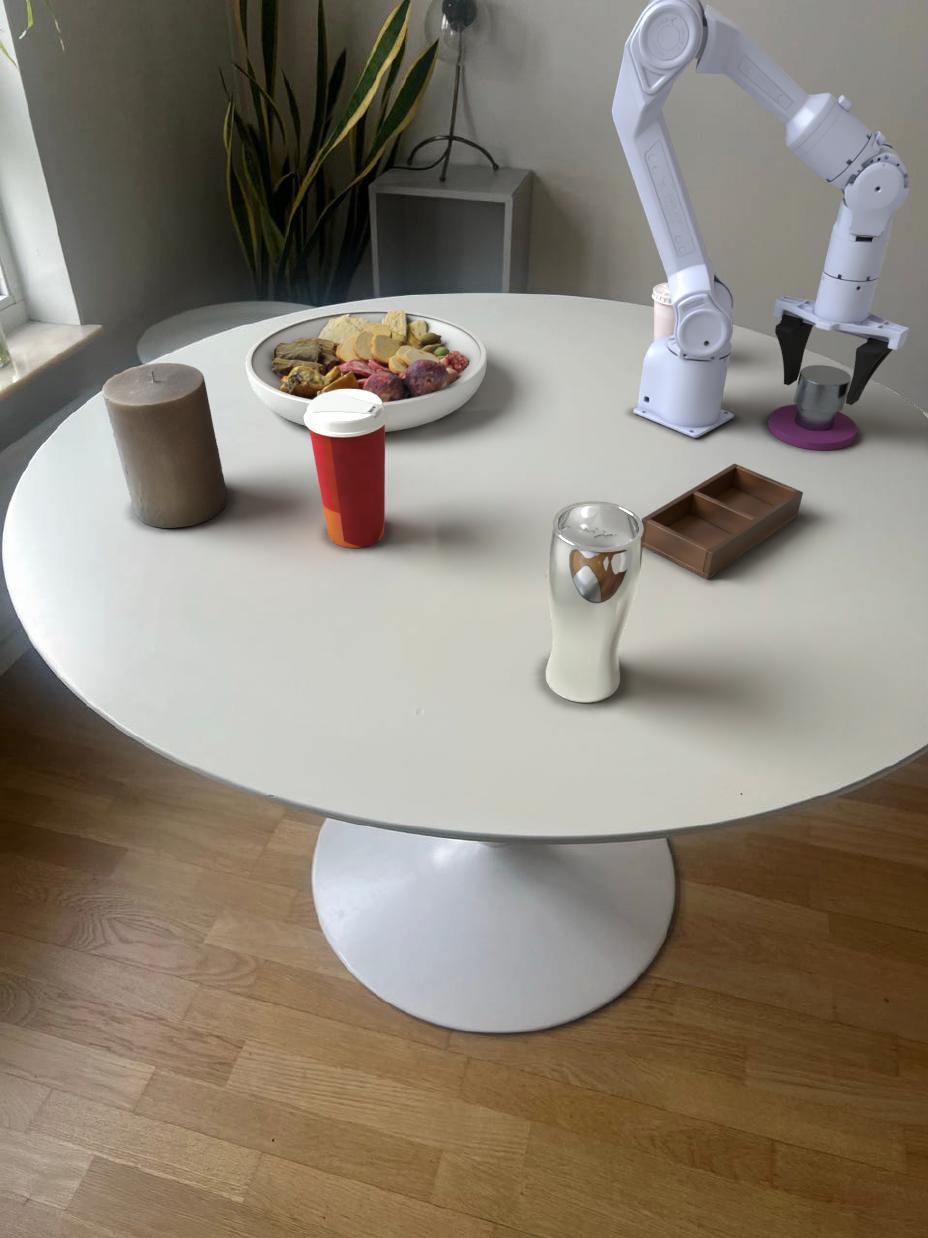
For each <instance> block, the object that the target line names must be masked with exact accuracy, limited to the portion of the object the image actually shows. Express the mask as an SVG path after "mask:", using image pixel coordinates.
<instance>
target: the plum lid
mask: <svg viewBox="0 0 928 1238" xmlns="http://www.w3.org/2000/svg"><path fill="white" fill-rule="evenodd" d="M797 407H798V406H797V405H796V404H795V403H794V404H788V405H787V404H786V405H783V406H780V407H778V408H776V409H774V410H773V411H772V412H771V413H770V415H769V417H768V421H767V428H768V431H769V432H770V434H772V436H774V437H775V438H776V439H778V440H780V441H781V442H783V443H785V444H788V445H791V446H792V447H793V446H794V447H796V448H801V449H806V450H813V451H832V450H833V451H834V450H839V449H843V448H846V447H848V446H849V445H851V444H852V443H853V442H854V441H855V439H856V436H857V433H858V426H857V424H856V422H855V421H854V420H853V419H852V418H851V417H850V416H848V415H846V414H845V413H842V412H841V411H839V412H837V413H836V416H835V420H834V424H833V427H832V428H831V429H829V430H826V431H811V430H807V429H804V428H801V427H800V426H798V425H797V424H796V423H795V421H794V419H795V415H796V411H797Z"/></svg>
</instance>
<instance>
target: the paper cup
mask: <svg viewBox="0 0 928 1238" xmlns="http://www.w3.org/2000/svg"><path fill="white" fill-rule="evenodd" d="M304 420H305V424H306V426H305V427H307V428H308V430H309V435H310V441H311V446H312V452H313V456H314V458H313V459H314V463H315V468H316V469H315V470H316V474H317V480H318V481H317V482H318V487H319V491H320V497H321V503H322V508H323V513H324V519H325V523H326V530H327V533H328V537H329V539H330V541H331V542H332V543H334V544H335V545H337V546H339V547H343V548H347V549H361V548H367V547H370V546H373V545H374V544H377V543H378V542H379V541H380V540H382V538H383V536H384V534H385V516H386V515H385V513H386V512H385V511H386V509H385V507H386V506H385V505H386V497H385V496H386V432H385V423H386V422H387V420H388V413H387V411H386V409H385V408H384V406H383V403H382V401H381V399H380V398H379V397H378V396H377V395H375V394H373V393H371V392H368V391H364V390H359V389H339V390H334V391H330V392H326V393H323V394H321V395H319V396H317V397H316V398H314V399H313V400H312V401H311V403H310V404H309V406H308V407H307V412H306V413H305V415H304Z"/></svg>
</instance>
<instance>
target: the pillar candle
mask: <svg viewBox="0 0 928 1238" xmlns="http://www.w3.org/2000/svg"><path fill="white" fill-rule="evenodd" d="M101 393H102V395H101V396H102V397H103V400H104V404H105V407H106V408H105V409H106V411H107V415H108V417H109V423H110V425H111V428H112V435H113V438H114V441H115V445H116V449H117V452H118V457H119V460H120V464H121V468H122V471H123V476H124V479H125V483H126V486H127V490H128V495H129V497H130V501H131V506H132V509H133V511H134V514H135V516H136V518H137V519H138V520H139V521H140V522H141V523H143V524H145V525H148V526H151V527H156V528H162V529H167V528H168V529H174V528H182V527H192V526H197V525H199V524H203V523H205V522H207V521H210V520H212V519H213V518H214V517H216V516H217V515H218V514H220V513H221V512H222V511H223V510H224V508H225V507H226V506H227V504H228V500H227V499H228V498H227V496H228V493H227V492H228V491H227V486H226V482H225V476H224V472H223V466H222V461H221V457H220V452H219V451H220V450H219V447H218V442H217V438H216V437H217V436H216V432H215V427H214V423H213V416H212V412H211V406H210V401H209V395H208V390H207V385H206V380H205V376H204V374H203V373H202V371H201V370H199V369H198V368H197V367H194V366H192V365H187V364H184V363H178V362H177V363H176V362H156V363H149V364H141V365H138V366H133V367H130V368H128V369H125V370H123V371H121V372H120V373H117V374H114V375H113V376H112V377H110V378H109V379H107V381H106V382H105V383H104V384H103V385H102V389H101Z"/></svg>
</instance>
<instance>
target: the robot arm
mask: <svg viewBox="0 0 928 1238" xmlns="http://www.w3.org/2000/svg"><path fill="white" fill-rule="evenodd" d="M705 7H706V8H704V5H703V3H702V1H701V0H650V1H649V2H648V3H647V5H646V7H645V8H644V9H643V11H642V13H641V14H640V16H639V17H638V19H637V21H636V23H635V25H634V27H633V29H632V30H631V32H630V34H629V36H628V38H627V40H626V41H625V43H624V48H623V55H622V60H621V65H620V69H619V74H618V78H617V83H616V88H615V92H614V97H613V101H612V106H611V113H612V120H613V123H614V126H615V129H616V132H617V135H618V138H619V141H620V144H621V147H622V150H623V154H624V156H625V158H626V161H627V165H628V167H629V170H630V173H631V175H632V179H633V181H634V184H635V187H636V190H637V193H638V196H639V200H640V202H641V205H642V207H643V211H644V214H645V217H646V219H647V223H648V225H649V228H650V231H651V234H652V237H653V241H654V243H655V246H656V248H657V252H658V254H659V258H660V260H661V263H662V266H663V269H664V272H665V275H666V278H667V283H669V289H670V296H671V301H672V305H673V308H674V311H675V316H676V322H675V328H674V334H673V335H671V336H666V335H664V336H661V337H659V338H657V339H656V340H655V341H654V340H653V342H651V344H650V345H649V347H648V349H647V351H646V353H645V356H644V358H643V362H642V368H641V369H642V370H641V375H640V376H641V378H640V384H639V394H638V401H637V406H635V407H634V408H633V414H635V415H637V416H640V417H641V418H642V417H643V418H645V419H647V420H650V421H652V422H654V423H657V424H660V425H662V426H664V427H667V428H670V429H672V430H674V431H676V432H679V433H681V434H684V435H686V436H689V437H691V438H694V439H695V438H697V439H698V438H699V437H701V436H703V435H705V434H707V433H708V432H710V431H712V430H714V429H715V428H717V427H719V426H721V425H723V424H725V423H726V422H728V421H730V420H732V419H733V418H734V416H735V415H734V413H733V412H730V411H727V410H725V409H723V408H722V402H723V396H724V391H725V386H726V379H727V376H728V375H727V374H728V369H729V364H730V358H731V353H732V347H733V346H732V343H731V341H732V338H733V334H734V324H733V320H732V319H733V318H732V317H733V315H732V314H733V313H732V311H733V307H734V297H733V293H732V291H731V289H730V287H729V286H728V285H727V284H726V282H724V281H723V280H722V279H721V278H720V277H719V275H718V273H717V271H716V268H715V265H714V263H713V260H712V259H711V257H710V256H709V254H708V251H707V248H706V245H705V242H704V239H703V235H702V232H701V229H700V226H699V223H698V219H697V217H696V213H695V210H694V207H693V204H692V201H691V198H690V194H689V192H688V189H687V185H686V182H685V179H684V176H683V172H682V170H681V166H680V163H679V160H678V157H677V153H676V150H675V147H674V144H673V141H672V138H671V135H670V132H669V128H668V125H667V122H666V119H665V115H664V113H663V107H664V105H665V104H666V101H667V100H668V97H669V95H670V92H671V91H672V88H673V86H674V83H675V82H676V81H677V80H678V78H679V77H680V76H681V75H683V73H684V72H685V71H686V70H687V68H688V67H689V66H690V64H691V63H692V62H693V61H694V60H695V59H696V66H695V72H694V73H695V74H705V75H706V74H708V75H711V74H712V75H714V74H715V75H724V76H726V77H728V78H729V79H730V80H731V81H733V82H734V83H735V84H736V85H737V86H739V88H741V89H742V90H743V91H744V92H746V93H747V94H748V95H749V96H750V97H751V98H753V99H754V100H755V101H757V103H759V104H760V105H761V106H762V107H764V108H765V109H766V110H767V111H768V112H769V113H771V114H772V115H773V116H774V117H775V118H776V119H778V120H779V121H780V122H781V123H783V124H784V127H785V128H784V145H785V147H787V149H788V150H789V151H790V152H792V153H793V154H794V155H796V157H798V158H799V160H801V161H802V162H803V163H804V164H805V165H806V166H807V167H809V169H811V170H812V171H813V172H814V173H815V174H816V175H818V176H819V178H821V180H823V181H824V182H825V183H826V184H827V185H829V186H831V187H835V188H839V189H840V191H841V194H842V195H843V196H844V197H842V198H841V200H840V203H839V209H838V213H837V218H836V221H835V223H834V224H833V226H832V231H831V234H830V239H829V243H828V248H827V252H826V256H825V261H824V265H823V269H822V274H821V277H820V281H819V285H818V290H817V293H816V298H815V300H813V299H806V298H798V297H793V296H788V295H783V296H781V297H779V298H777V299H775V303H774V309H773V313H772V317H774V318H778V319H781V320H780V321H779V323H778V324H776V325H775V327H774V333H775V336H776V338H777V341H778V344H779V347H780V352H781V358H782V365H783V385H786V386H790V385H792V384H793V383H795V382H798V379H799V375H800V371H801V370H802V369H801V368H802V363H803V358H804V354H805V351H806V347H807V344H808V341H809V338H810V335H811V333H812V330H813V327H815V328H817V329H819V330H824V331H828V332H837V333H841V334H845V335H848V336H852V337H855V338H858V339H863V340H866V342H865V343H862V344H861V345H859V346H857V348H856V350H855V358H854V366H853V367H854V368H853V373H852V377H851V382H850V386H849V389H848V393H847V397H846V400H845V404H846V405H848V406H853V405H854V404H856V403H857V402H858V401H859V400H860V398H861V396H862V394H863V392H864V390H865V388H866V386H867V385H868V383H869V381H870V380H871V378H872V377H873V375H874V373H875V372H876V371H877V369H878V368H879V366H880V365H882V363H883V362H884V361H885V359H886V358H887V357H888V356H889V354H891V353H892V351H898V350H899V349H901V348H902V347H903V346H905V343H906V341H907V337H908V333H909V331H910V328H909V327H907V326H903V325H900V324H897V323H895V322H893V321H890V320H888V319H885V318H883V317H881V316H878V315H877V314H873V313H872V312H870V311H871V308H872V304H873V300H874V296H875V293H876V289H877V285H878V282H879V279H880V275H881V271H882V268H883V264H884V260H885V256H886V254H887V249H888V246H889V242H890V239H891V236H892V226H893V221H894V220H895V217H896V212H897V211H898V210H899V209H900V208H901V207H902V206H903V205H904V204H905V202H906V201H907V198H908V197H909V195H910V192H911V189H910V188H909V185H910V184H909V180H910V179H909V178H910V177H909V174H908V173H909V172H908V170H907V167H906V166H905V164H904V162H903V161H902V159H901V158H900V156H899V153H897V151H896V150H895V149H894V148H893V145H892V144H891V143H889V142H886V141H887V138H886V136H885V135H884V134H883V133H882V132H881V131H880V130H878V131H876V132H875V133H874V132H872V130H871V129H869V128H868V127H867V126H866V125H865V124H864V123H863V122H862V121H861V120H860V119H859V118H858V117H857V116H855V115H854V114H853V113H852V112H851V111H850V110H851V109H852V108H853V103H852V102H851V100H849V99H848V98H847V97H846V96H845V95H844V94H842V95H840V96H839V97H838V98H837V97H835V96H834V94H832V93H831V92H823V93H817V94H808V93H807V92H806V91H805V90H804V89H803V88H802V87H801V86H800V85H799V84H798V83H797V82H796V81H795V80H794V79H793V78H792V77H791V76H790V75H789V74H788V73H787V72H786V71H785V70H784V69H783V68H782V67H781V66H780V65H779V64H778V63H777V62H776V61H775V60H774V59H773V58H772V57H771V56H770V55H769V54H768V53H767V52H766V51H765V50H764V49H763V48H762V47H761V46H760V45H759V44H758V43H757V42H756V41H755V40H754V39H753V38H752V37H751V36H750V35H749V34H747V32H746V31H745V30H744V29H743V28H742V27H741V26H739V25H738V24H737V23H735V22H734V21H733V20H732V19H731V18H729V17H727V16H726V15H725V14H723V13H722V12H721V11H719V10H718V9H716V8H715V7H714V6H711V5H710V4H708V3H707V4H706V6H705Z"/></svg>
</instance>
